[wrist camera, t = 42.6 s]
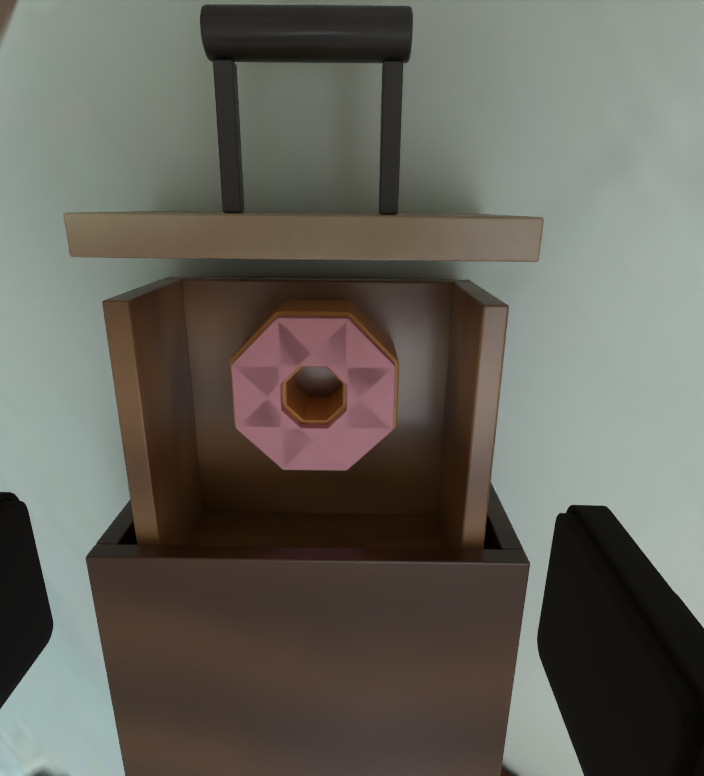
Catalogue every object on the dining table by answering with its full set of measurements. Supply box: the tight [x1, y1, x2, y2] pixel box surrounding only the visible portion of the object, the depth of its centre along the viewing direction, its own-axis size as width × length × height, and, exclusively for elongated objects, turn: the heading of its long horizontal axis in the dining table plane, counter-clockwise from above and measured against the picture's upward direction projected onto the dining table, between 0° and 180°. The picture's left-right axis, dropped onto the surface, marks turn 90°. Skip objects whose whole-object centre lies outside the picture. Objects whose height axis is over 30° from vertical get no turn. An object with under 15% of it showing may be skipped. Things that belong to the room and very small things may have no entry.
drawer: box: [64, 4, 544, 549], centre depth 19 cm, size 19×13×6 cm
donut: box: [230, 299, 399, 471], centre depth 20 cm, size 6×6×3 cm
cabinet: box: [86, 482, 530, 776], centre depth 23 cm, size 14×14×8 cm
